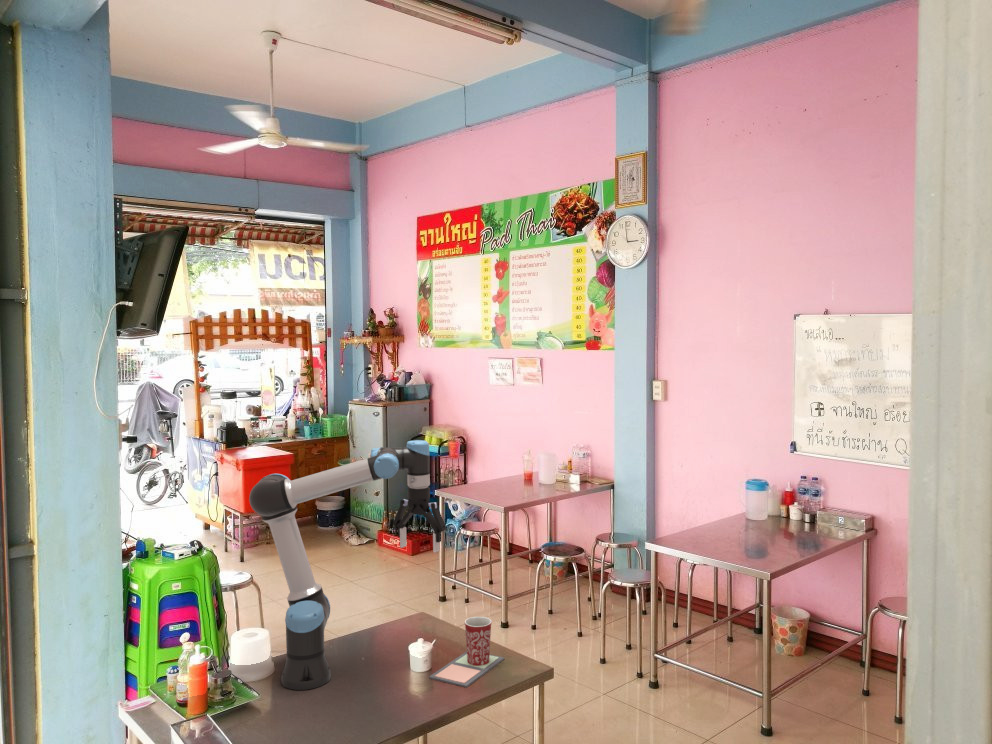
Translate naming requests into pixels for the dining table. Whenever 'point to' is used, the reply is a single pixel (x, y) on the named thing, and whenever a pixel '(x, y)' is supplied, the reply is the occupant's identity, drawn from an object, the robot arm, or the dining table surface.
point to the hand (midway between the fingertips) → (419, 549)
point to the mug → (478, 640)
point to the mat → (464, 671)
